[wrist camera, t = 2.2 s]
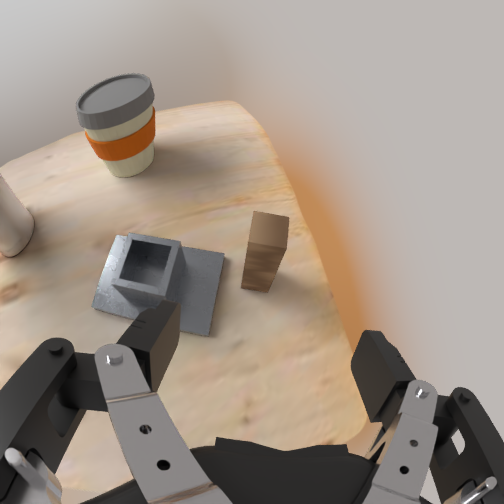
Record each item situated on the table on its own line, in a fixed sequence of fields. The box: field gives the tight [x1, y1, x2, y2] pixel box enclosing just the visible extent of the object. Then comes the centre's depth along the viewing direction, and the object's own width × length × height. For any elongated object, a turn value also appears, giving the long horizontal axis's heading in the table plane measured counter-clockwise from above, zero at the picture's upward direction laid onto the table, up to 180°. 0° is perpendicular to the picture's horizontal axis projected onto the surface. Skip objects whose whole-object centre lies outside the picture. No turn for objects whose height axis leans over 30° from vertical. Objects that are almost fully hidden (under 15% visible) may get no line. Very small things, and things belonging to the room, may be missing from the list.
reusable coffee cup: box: [76, 73, 155, 177], centre depth 38 cm, size 12×13×15 cm
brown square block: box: [241, 211, 289, 292], centre depth 31 cm, size 4×4×12 cm
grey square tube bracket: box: [91, 233, 225, 337], centre depth 32 cm, size 16×11×6 cm
